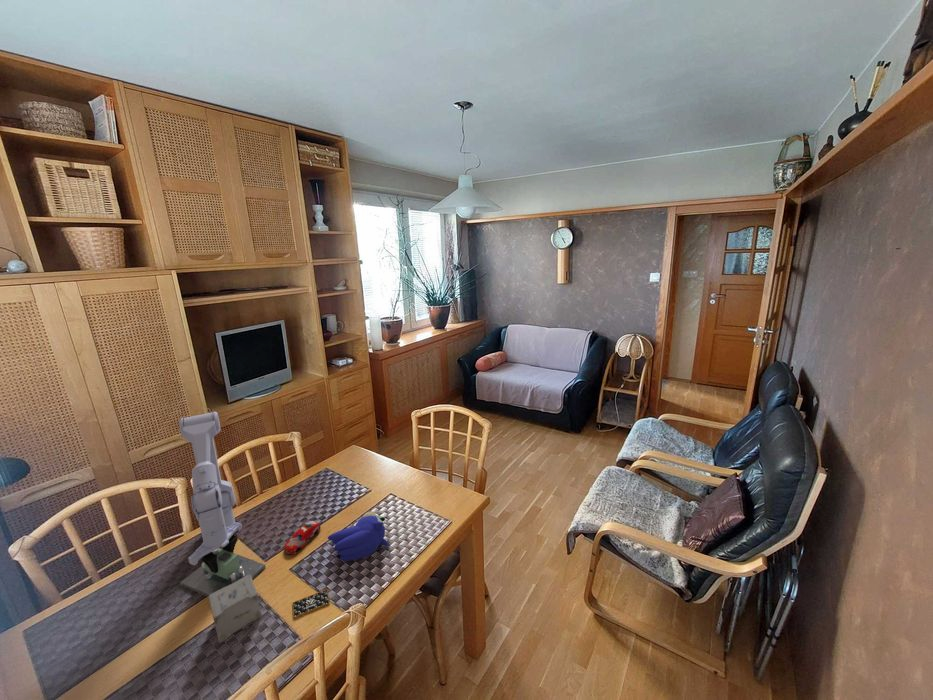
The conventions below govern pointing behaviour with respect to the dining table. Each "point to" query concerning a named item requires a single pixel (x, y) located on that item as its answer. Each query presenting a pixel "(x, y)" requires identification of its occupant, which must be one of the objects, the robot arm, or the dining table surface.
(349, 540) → the toy
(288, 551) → the race car
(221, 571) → the green box
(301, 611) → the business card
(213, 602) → the grey box
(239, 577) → the chassis
